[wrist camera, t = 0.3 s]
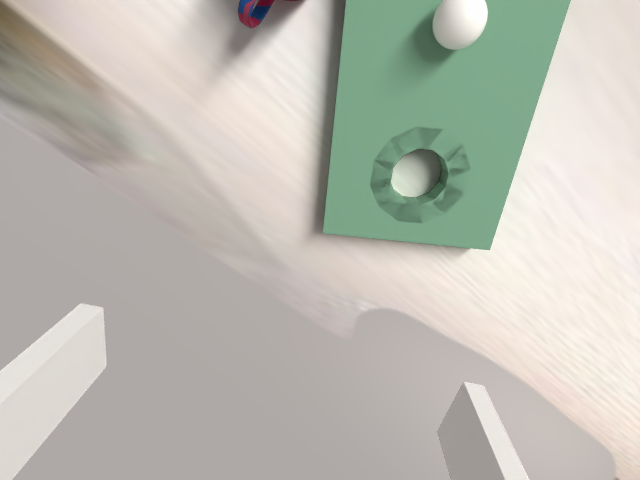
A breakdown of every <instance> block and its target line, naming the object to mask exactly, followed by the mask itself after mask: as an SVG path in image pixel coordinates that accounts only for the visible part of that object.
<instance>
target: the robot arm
mask: <svg viewBox="0 0 640 480" xmlns="http://www.w3.org/2000/svg"><path fill="white" fill-rule="evenodd" d="M106 365H107V364H106V348H105V330H104V315H103V308H102V307H97V306H92V305H87V304H82V303H81V304H80V305H78V306H77V307H76V308H75V309H74V310H73V311H71V312H70V313H69V314H68V315H66V316H65V317H64V318H63V319H62V320H61V321H59V322H58V323H57V324H56V325H55V326H53V327H52V328H51V329H50V330H49V331H48V332H46V333H45V334H44V335H43V336H42V337H40V338H39V339H38V340H37V341H36V342H34V343H33V344H32V345H31V346H30V347H28V348H27V349H26V350H25V351H24V352H22V353H21V354H20V355H19V356H18V357H17V358H15V359H14V360H13V361H12V362H10V363H9V364H8V365H7V366H6V367H5V368H3V369H2V370H1V371H0V480H12V479H13V478H14V477H15V475H16V474H17V473H18V472H19V470H20V469H21V468H22V467H23V466H24V465H25V463H26V462H27V461H28V460H29V459H30V457H31V456H32V455H33V454H34V452H35V451H36V450H37V449H38V448H39V447H40V445H41V444H42V443H43V442H44V441H45V439H46V438H47V437H48V436H49V435H50V433H51V432H52V431H53V430H54V428H55V427H56V426H57V425H58V424H59V423H60V421H61V420H62V419H63V418H64V417H65V415H66V414H67V413H68V412H69V411H70V409H71V408H72V407H73V405H75V403H76V402H77V401H78V400H79V398H80V397H81V396H82V395H83V394H84V393H85V391H86V390H87V389H88V388H89V386H90V385H91V384H92V383H93V382H94V381H95V379H96V378H97V377H98V376H99V375H100V373H101V372H102V371H103V370H104V368H105V367H106ZM437 433H438V436H439V440H440V443H441V447H442V450H443V454H444V457H445V461H446V464H447V468H448V471H449V475H450V478H451V480H529V478H528V476H527V474H526V472H525V470H524V468H523V466H522V464H521V462H520V459H519V457H518V455H517V453H516V451H515V449H514V447H513V445H512V443H511V441H510V439H509V437H508V435H507V433H506V431H505V429H504V427H503V425H502V422H501V420H500V418H499V416H498V414H497V412H496V410H495V408H494V406H493V404H492V402H491V400H490V398H489V396H488V393H487V391H486V389H485V387H484V386H483V385H478V384H473V383H468V382H463V384H462V386H461V387H460V389H459V391H458V393H457V395H456V397H455V399H454V401H453V403H452V404H451V406H450V408H449V410H448V412H447V414H446V416H445V417H444V419H443V421H442V423H441V425H440V427H439V429H438V431H437Z"/></svg>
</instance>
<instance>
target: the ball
mask: <svg viewBox="0 0 640 480" xmlns="http://www.w3.org/2000/svg"><path fill="white" fill-rule="evenodd" d="M487 17H488V9H487V5H486V2H485V0H442V2H441V3H440V4H439V6H438V7H437V9H436V11H435V14H434V18H433V33H434V36H435V38H436V40H437V41H438V43H439V44H440V45H442V46H443V47H445V48H447V49H451V50H457V49H462V48H465V47H467V46H469V45H471V44H472V43H473V42H474V41H476V40H477V38H478V37H479V36H480V35H481V33H482V32H483V30H484V28H485V25H486V22H487Z"/></svg>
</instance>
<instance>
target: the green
mask: <svg viewBox="0 0 640 480" xmlns="http://www.w3.org/2000/svg"><path fill="white" fill-rule="evenodd" d="M570 1H571V0H485V2H486V5H487V9H488V17H487V22H486V25H485V28H484V30H483V32H482V33H481V35H480V36H479V37H478V38H477V40H476V41H474V42H473V43H472V44H471V45H469V46H467V47H465V48H462V49H457V50H451V49H447V48H445V47H443V46H442V45H440V44H439V43H438V41H437V40H436V38H435V36H434V33H433V18H434V14H435V11H436V9H437V7H438V6H439V4H440V3H441V2H442V0H346V6H345V16H344V26H343V36H342V46H341V56H340V66H339V76H338V86H337V96H336V106H335V116H334V126H333V136H332V146H331V156H330V166H329V176H328V186H327V196H326V206H325V216H324V226H323V233H325V234H335V235H345V236H355V237H365V238H375V239H385V240H395V241H404V242H414V243H424V244H434V245H444V246H454V247H464V248H474V249H483V250H490V248H491V245H492V241H493V238H494V235H495V232H496V229H497V226H498V223H499V220H500V217H501V214H502V211H503V207H504V204H505V201H506V198H507V195H508V192H509V189H510V186H511V183H512V180H513V177H514V174H515V170H516V167H517V164H518V161H519V158H520V155H521V152H522V149H523V146H524V143H525V140H526V136H527V133H528V130H529V127H530V124H531V121H532V118H533V115H534V112H535V109H536V106H537V103H538V99H539V96H540V93H541V90H542V87H543V84H544V81H545V78H546V75H547V72H548V69H549V66H550V62H551V59H552V56H553V53H554V50H555V47H556V44H557V41H558V38H559V35H560V32H561V28H562V25H563V22H564V19H565V16H566V13H567V10H568V7H569V4H570ZM416 149H426V150H432V151H434V152H435V153H436V154H437V155H438V157H439V160H440V163H441V166H442V170H441V174H440V178H439V182H438V183H437V184H436V185H435V186H434V187H433V189H432V190H431V191H430V192H429V193H426V194H424V195H421V196H419V197H416V198H414V197H404V196H401V195H400V194H399V193H397V192H396V191H395V190H393V187H392V185H391V177H392V171H393V167H394V166H395V165H396V163H397V162H398V161H399V160H400V158H401V157H402V156H403V155H405V154H407V153H409V152H411V151H414V150H416Z"/></svg>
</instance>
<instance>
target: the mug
mask: <svg viewBox="0 0 640 480" xmlns="http://www.w3.org/2000/svg"><path fill="white" fill-rule="evenodd" d="M255 1H256V0H240V2H239V7H238V15H239V19H240V21H241V22H242V23H243V24H244V25H246V26H247V27H250V28H254V27H256V26H258V25H259V24H260V23H261V21H262V20H263V18H264V17H265V15H266V14H267V12H268V10H269V8H270V7H271V5H272V3H273V2H274V0H259V1H258V3H257V5H256V6H255V8H254V10H253V11H252V9H253V6H254V3H255ZM286 1H297V0H286ZM251 12H252V13H251Z"/></svg>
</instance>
